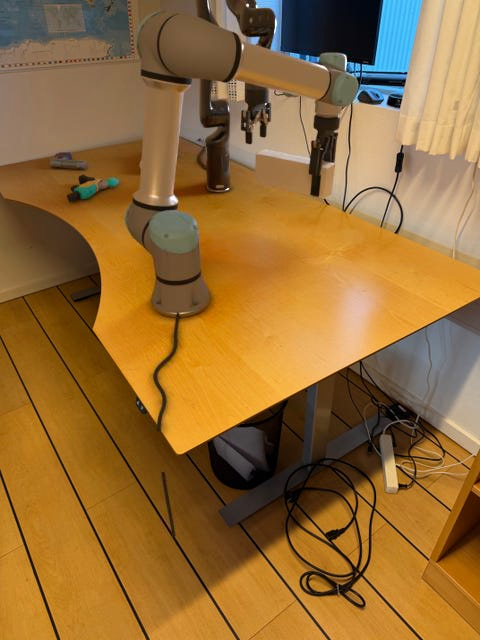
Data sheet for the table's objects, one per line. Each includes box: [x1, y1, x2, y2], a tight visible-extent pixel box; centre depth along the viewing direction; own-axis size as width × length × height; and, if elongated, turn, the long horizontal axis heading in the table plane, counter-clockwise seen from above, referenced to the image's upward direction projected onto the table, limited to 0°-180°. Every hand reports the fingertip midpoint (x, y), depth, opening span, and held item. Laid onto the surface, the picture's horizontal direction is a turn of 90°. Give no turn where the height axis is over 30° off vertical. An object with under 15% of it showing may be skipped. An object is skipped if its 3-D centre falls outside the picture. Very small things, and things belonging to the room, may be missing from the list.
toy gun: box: [48, 151, 87, 170], centre depth 217 cm, size 4×19×15 cm
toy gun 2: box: [66, 173, 120, 203], centre depth 188 cm, size 4×26×15 cm
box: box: [254, 148, 336, 200], centre depth 152 cm, size 25×6×10 cm, turn 56°
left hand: (319, 192), depth 150 cm, fingers closed on box, 6 cm apart
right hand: (256, 140), depth 155 cm, fingers open, 8 cm apart
